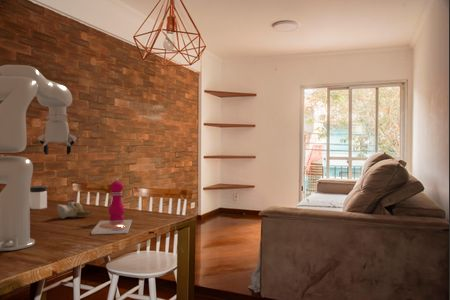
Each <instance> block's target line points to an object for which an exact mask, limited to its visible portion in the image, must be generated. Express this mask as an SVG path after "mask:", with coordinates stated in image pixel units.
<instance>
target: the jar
mask: <svg viewBox="0 0 450 300" xmlns="http://www.w3.org/2000/svg"><path fill="white" fill-rule="evenodd" d="M47 208H48V191H47V186H46V185H33V186H30V210H43V209H47Z"/></svg>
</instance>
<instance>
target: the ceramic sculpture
mask: <svg viewBox="0 0 450 300" xmlns="http://www.w3.org/2000/svg"><path fill="white" fill-rule="evenodd" d="M56 206H57V207H56V209H57V213H58V215H59V218H60V219H62V220H63V219H66V218H78V217H86V216H89V215H91V214H92V212H91V211H90V212H89V211H87V210H86V209H85V208H83V207H84V206H83V205H82V204H81V203H80V202H75V201H74V200H70V201H68V202H67V203H66V204H65V205H64V204H59V203H58V204H56Z"/></svg>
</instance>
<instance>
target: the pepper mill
mask: <svg viewBox="0 0 450 300" xmlns="http://www.w3.org/2000/svg"><path fill="white" fill-rule="evenodd" d="M109 189H110V191H111V194H110V195H111V203H110V206H109V207H108V213H109V215H110V216H109V220H124V213H125V206H124V204H123V201H122V195H123V191H122V190H123V189H124V184H123V183H122V181H121V182H120V181H119V178H117V177H116V178H115V179H114V181H113V182H111V183H110V186H109Z"/></svg>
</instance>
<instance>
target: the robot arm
mask: <svg viewBox="0 0 450 300" xmlns="http://www.w3.org/2000/svg"><path fill="white" fill-rule="evenodd" d="M35 97H36V99H37V101H38V103H39V104H40V106H43V107H48V115H46V116H45V119H47V121H46V124H45V129H44V133H43V134H41V135H39V136H37V139H38V141H39V143H40V144H41V145H42V146H43V153H44V155H49V146H48V145H49V144H50V143H65V144H66V155H67V156H68V155H70V154H71V153H72V146H73V145H74V144H75V143H76V141H77V139H78V137H77V136H76V135H73V134H71V133H70V128H69V123H68V121H67V108H68V107H70V106H71V105H72V103H73V95H72V93H71V91H70V90H69V89H68V88H67V86H65V85H63V84H61V83H58V82H56V81H53V80H50V79H47V78H46V77H45V76H44V75H43V74H42V73H41V72H40V71H39V70H38V69H37V68H35V67H34V66H31V65H23V64H3V65H0V101H1V103H0V154H1V153H2V154H3V153H5V154H8V153H9V154H10V153H11V154H12V153H20V152H23V151H25V149H26V147H27V143H28V142H27V141H28V140H27V138H28V137H27V116H26V115H27V111H28V108H29V106H30V104H31V102H32V101H33V99H34V98H35ZM70 138H71V139H72V140H71V141H70ZM43 139H44V140H43ZM33 172H34V165H33V162H32V160H30V159H29V158H27V157H25V156H17V155H16V156H13V155H10V156H9V155H6V156H5V155H3V156H2V155H1V156H0V184H1V185H2V184H5V186H4V188H3V189H2V190H1V191H0V252H3V251H4V252H5V251H6V252H7V251H17V250H22V249H26V248H30V247H32V246H33V245H35V244H36V242H35V241H36V239H34V238H31V209H30V187H31V184H32V178H33Z"/></svg>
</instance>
